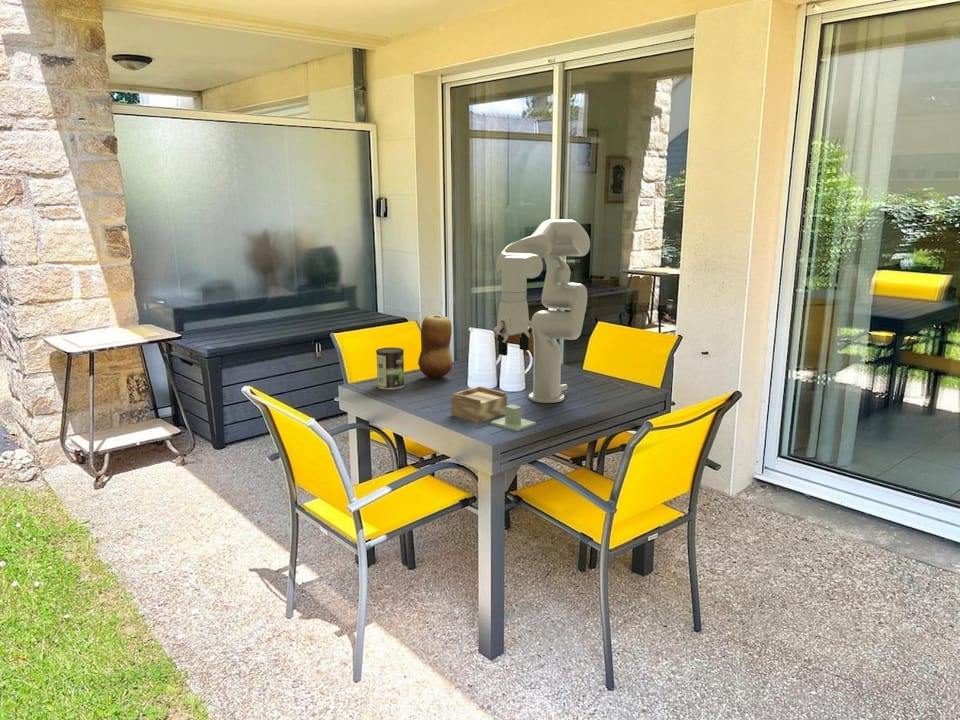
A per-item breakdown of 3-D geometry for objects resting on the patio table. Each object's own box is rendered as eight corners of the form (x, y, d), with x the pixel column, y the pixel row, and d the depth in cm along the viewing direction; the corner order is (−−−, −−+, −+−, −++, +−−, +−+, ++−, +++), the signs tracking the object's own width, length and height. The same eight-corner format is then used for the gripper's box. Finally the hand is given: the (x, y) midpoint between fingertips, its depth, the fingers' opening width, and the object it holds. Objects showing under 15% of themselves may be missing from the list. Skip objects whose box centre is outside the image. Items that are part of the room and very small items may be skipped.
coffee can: (408, 383, 271) (407, 347, 268) (398, 390, 262) (397, 353, 258) (383, 382, 274) (382, 346, 271) (372, 388, 264) (371, 351, 261)
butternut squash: (451, 382, 273) (451, 318, 267) (417, 382, 273) (415, 318, 267) (453, 373, 286) (452, 312, 281) (420, 374, 286) (418, 313, 281)
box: (481, 406, 242) (481, 385, 240) (506, 413, 234) (507, 392, 232) (451, 414, 232) (450, 393, 230) (477, 422, 224) (477, 401, 222)
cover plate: (508, 418, 230) (509, 400, 228) (535, 425, 222) (535, 406, 221) (490, 425, 223) (490, 406, 222) (517, 432, 216) (517, 413, 214)
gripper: (523, 293, 222) (522, 346, 226) (485, 298, 210) (485, 355, 214) (541, 295, 217) (540, 349, 221) (503, 301, 205) (503, 358, 209)
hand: (513, 352), depth 218 cm, fingers open, 9 cm apart
